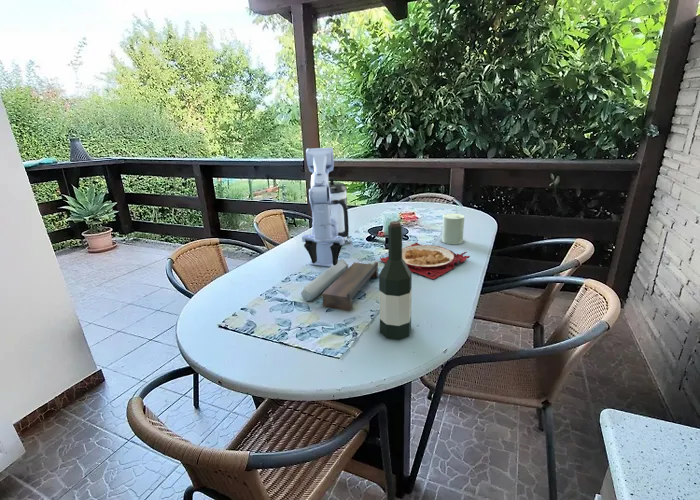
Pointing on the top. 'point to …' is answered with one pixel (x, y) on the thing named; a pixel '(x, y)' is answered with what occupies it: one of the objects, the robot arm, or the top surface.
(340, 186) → the coffee press
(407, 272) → the wine bottle
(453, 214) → the can
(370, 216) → the top surface
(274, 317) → the top surface
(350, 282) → the wooden display stand
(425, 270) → the plate with food
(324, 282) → the tube
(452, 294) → the top surface
